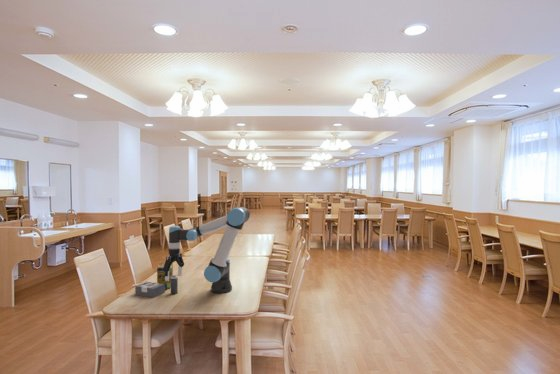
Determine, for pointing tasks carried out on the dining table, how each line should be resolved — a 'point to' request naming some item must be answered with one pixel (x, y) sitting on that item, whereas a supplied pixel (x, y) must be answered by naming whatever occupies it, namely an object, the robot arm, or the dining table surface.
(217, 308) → the dining table surface
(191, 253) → the dining table surface
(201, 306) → the dining table surface
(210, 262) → the robot arm
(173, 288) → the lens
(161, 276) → the protein box
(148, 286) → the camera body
